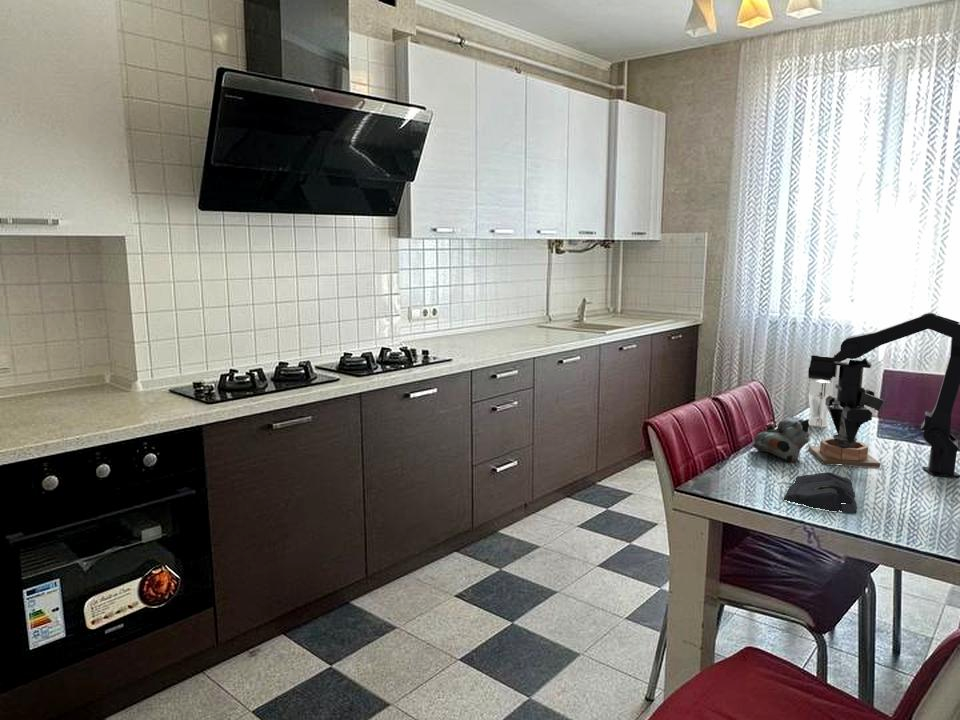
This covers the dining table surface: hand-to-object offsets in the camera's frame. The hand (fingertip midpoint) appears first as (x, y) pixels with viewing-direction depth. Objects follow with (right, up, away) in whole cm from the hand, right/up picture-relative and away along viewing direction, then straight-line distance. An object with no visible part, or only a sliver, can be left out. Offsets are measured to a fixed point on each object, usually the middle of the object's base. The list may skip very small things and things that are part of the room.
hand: (845, 438), depth 193 cm
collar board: (0, -6, +1) cm, 6 cm away
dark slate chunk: (-20, -11, -28) cm, 37 cm away
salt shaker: (0, -4, +1) cm, 4 cm away
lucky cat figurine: (-17, -6, +2) cm, 18 cm away
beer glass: (+11, 0, +38) cm, 39 cm away
